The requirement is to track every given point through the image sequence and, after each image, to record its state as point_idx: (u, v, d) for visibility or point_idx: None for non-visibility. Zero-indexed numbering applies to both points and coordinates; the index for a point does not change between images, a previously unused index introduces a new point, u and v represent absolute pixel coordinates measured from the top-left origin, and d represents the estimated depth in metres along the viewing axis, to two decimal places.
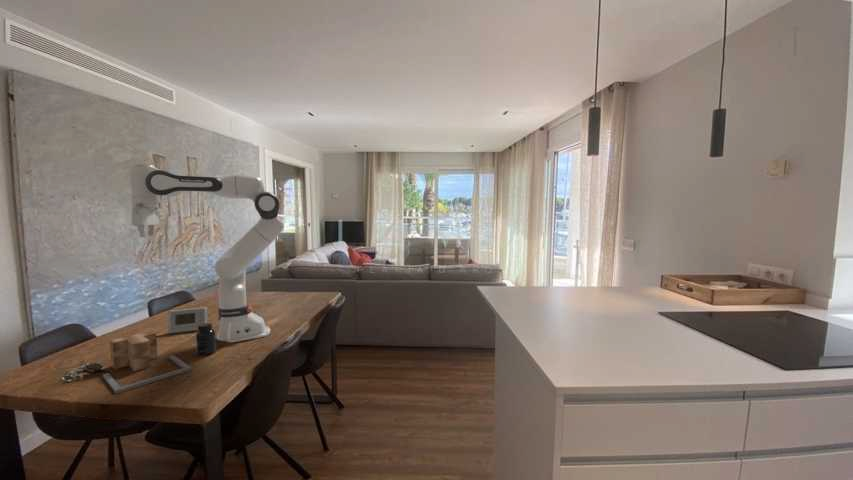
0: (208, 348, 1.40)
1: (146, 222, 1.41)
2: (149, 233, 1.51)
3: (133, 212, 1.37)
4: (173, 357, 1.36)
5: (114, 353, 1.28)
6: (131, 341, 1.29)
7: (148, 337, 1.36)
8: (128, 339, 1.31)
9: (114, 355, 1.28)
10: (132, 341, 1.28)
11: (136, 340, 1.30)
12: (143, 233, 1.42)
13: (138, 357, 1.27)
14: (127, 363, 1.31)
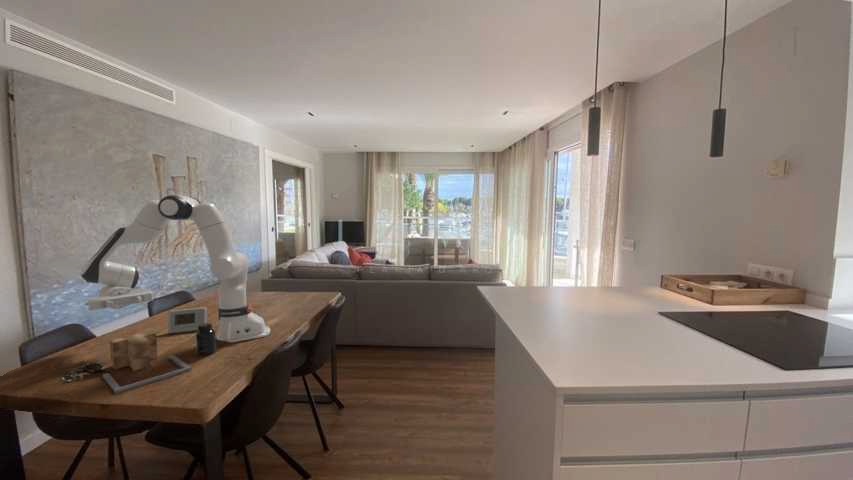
0: (208, 348, 1.40)
1: (100, 299, 1.36)
2: (135, 302, 1.40)
3: None
4: (173, 357, 1.36)
5: (114, 353, 1.28)
6: (131, 341, 1.29)
7: (148, 337, 1.36)
8: (128, 339, 1.31)
9: (114, 355, 1.28)
10: (132, 341, 1.28)
11: (136, 340, 1.30)
12: (111, 303, 1.35)
13: (138, 357, 1.27)
14: (127, 363, 1.31)
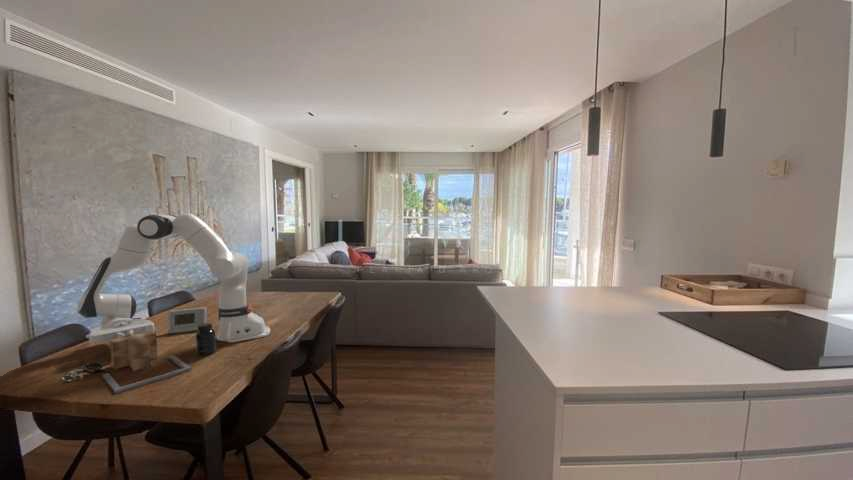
0: (208, 348, 1.40)
1: (102, 332, 1.37)
2: None
3: None
4: (173, 357, 1.36)
5: (114, 353, 1.28)
6: (131, 341, 1.29)
7: (148, 337, 1.36)
8: (128, 339, 1.31)
9: (114, 355, 1.28)
10: (132, 341, 1.28)
11: (136, 340, 1.30)
12: (121, 335, 1.38)
13: (138, 357, 1.27)
14: (127, 363, 1.31)
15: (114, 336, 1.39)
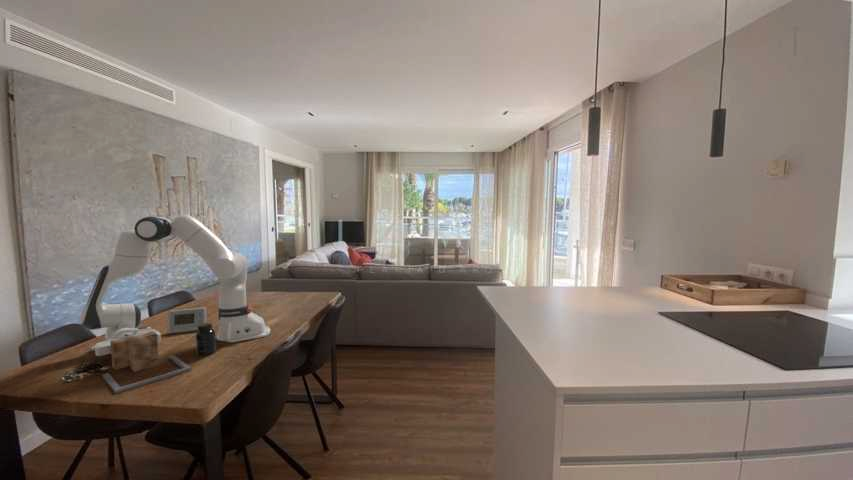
0: (208, 348, 1.40)
1: (107, 344, 1.33)
2: None
3: None
4: (173, 357, 1.36)
5: (114, 354, 1.27)
6: (132, 342, 1.28)
7: (149, 338, 1.35)
8: (129, 340, 1.30)
9: (114, 356, 1.27)
10: (133, 342, 1.27)
11: (136, 340, 1.29)
12: None
13: (139, 358, 1.26)
14: (128, 364, 1.30)
15: None
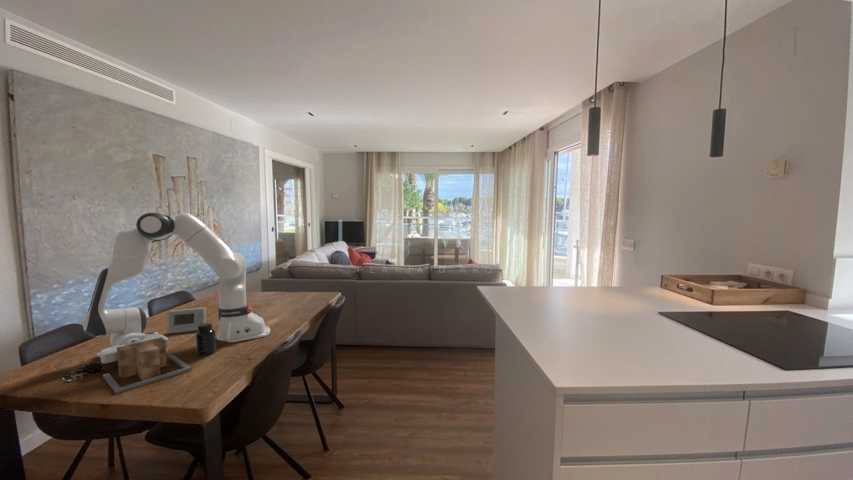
0: (208, 348, 1.40)
1: (114, 350, 1.27)
2: None
3: None
4: (173, 357, 1.36)
5: (121, 361, 1.20)
6: (139, 349, 1.21)
7: (157, 344, 1.28)
8: (136, 346, 1.23)
9: (121, 364, 1.20)
10: (140, 349, 1.21)
11: (144, 347, 1.22)
12: None
13: (147, 366, 1.20)
14: (135, 372, 1.23)
15: None
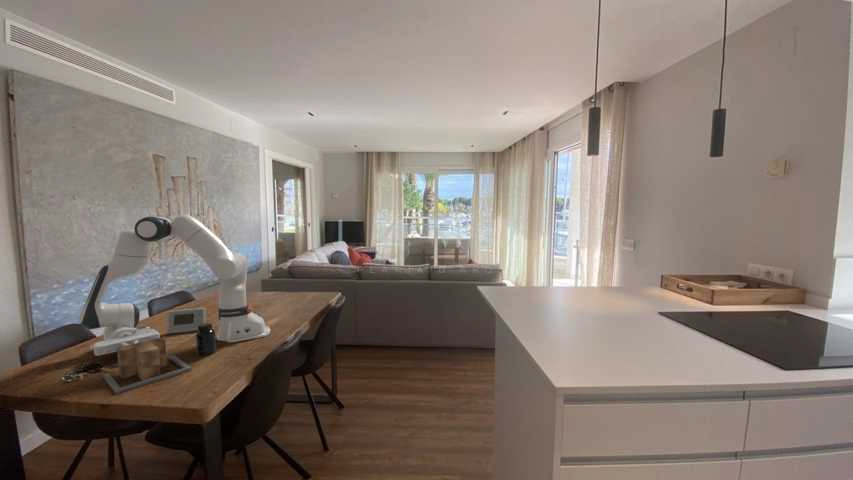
0: (208, 348, 1.40)
1: (106, 343, 1.33)
2: None
3: None
4: (173, 357, 1.36)
5: (121, 362, 1.20)
6: (139, 349, 1.21)
7: (157, 345, 1.28)
8: (136, 347, 1.23)
9: (121, 364, 1.20)
10: (140, 349, 1.21)
11: (144, 347, 1.22)
12: None
13: (147, 366, 1.20)
14: (135, 372, 1.23)
15: None
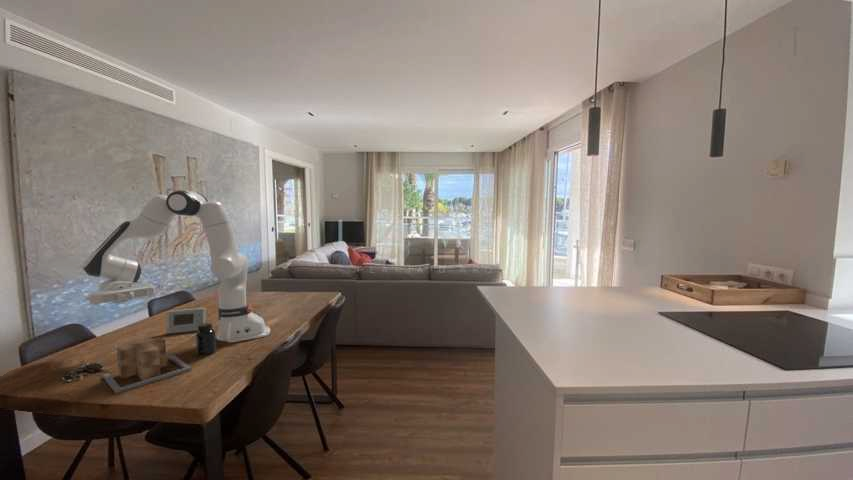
0: (208, 348, 1.40)
1: (102, 293, 1.34)
2: None
3: None
4: (173, 357, 1.36)
5: (121, 362, 1.20)
6: (139, 349, 1.21)
7: (157, 345, 1.28)
8: (136, 347, 1.23)
9: (121, 364, 1.20)
10: (140, 349, 1.21)
11: (144, 347, 1.22)
12: (122, 296, 1.35)
13: (147, 366, 1.20)
14: (135, 372, 1.23)
15: (114, 297, 1.36)
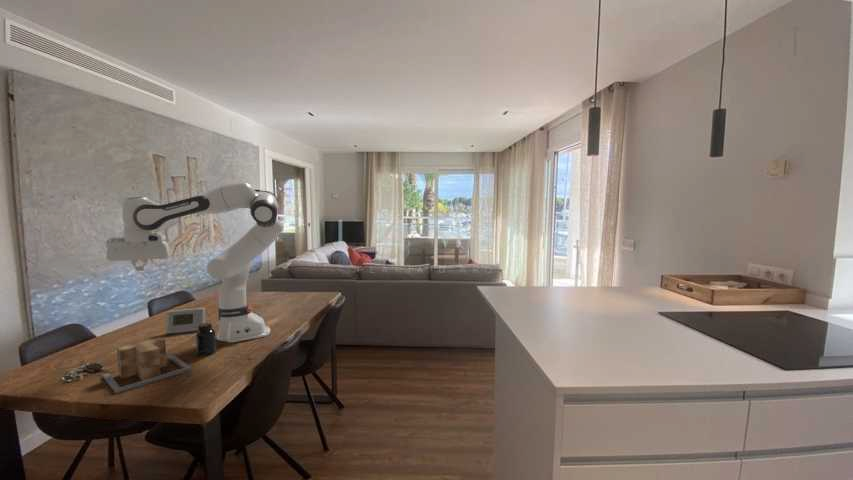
0: (208, 348, 1.40)
1: (117, 257, 1.38)
2: None
3: None
4: (173, 357, 1.36)
5: (121, 362, 1.20)
6: (139, 349, 1.21)
7: (157, 345, 1.28)
8: (136, 347, 1.23)
9: (121, 364, 1.20)
10: (140, 349, 1.21)
11: (144, 347, 1.22)
12: None
13: (147, 366, 1.20)
14: (135, 372, 1.23)
15: None
